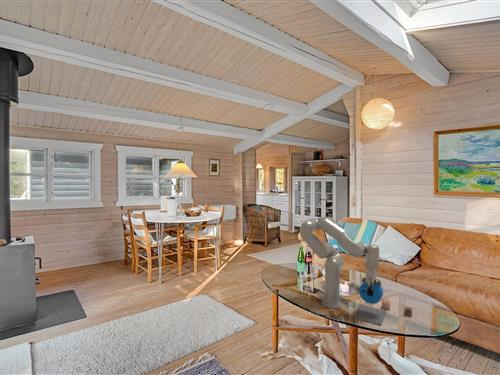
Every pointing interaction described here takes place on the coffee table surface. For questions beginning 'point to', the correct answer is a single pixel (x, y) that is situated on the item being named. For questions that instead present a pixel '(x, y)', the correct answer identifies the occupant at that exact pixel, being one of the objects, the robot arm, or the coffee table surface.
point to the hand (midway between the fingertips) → (371, 293)
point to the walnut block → (408, 311)
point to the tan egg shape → (385, 304)
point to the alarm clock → (376, 292)
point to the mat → (369, 314)
